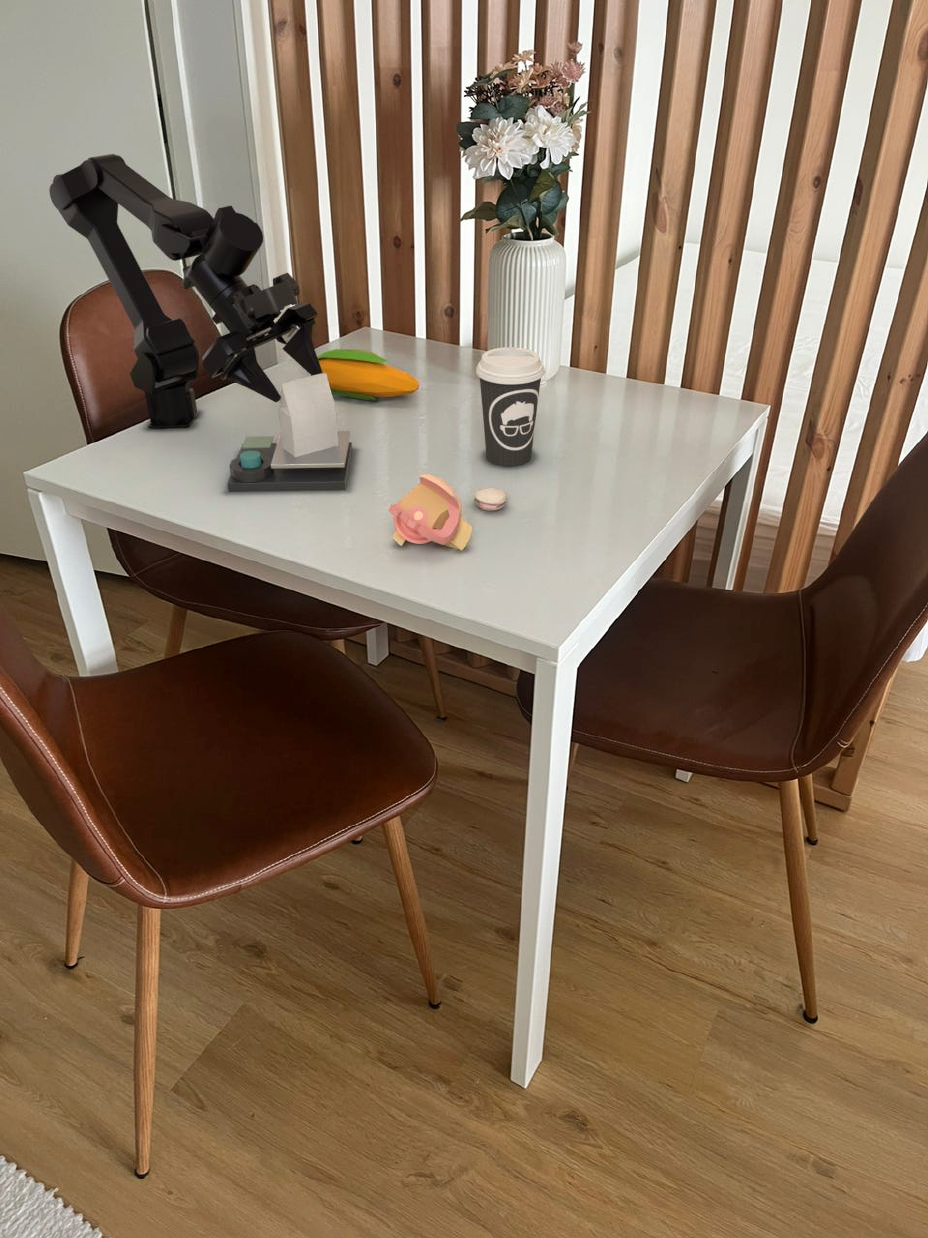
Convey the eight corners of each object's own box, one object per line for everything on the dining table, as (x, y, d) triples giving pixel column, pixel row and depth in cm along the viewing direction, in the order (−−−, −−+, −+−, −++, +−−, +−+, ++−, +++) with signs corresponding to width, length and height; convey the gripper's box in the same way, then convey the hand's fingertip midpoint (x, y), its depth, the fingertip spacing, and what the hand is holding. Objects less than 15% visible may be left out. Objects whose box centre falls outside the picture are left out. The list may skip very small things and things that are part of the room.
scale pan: (270, 468, 137) (270, 464, 136) (281, 435, 146) (280, 431, 145) (344, 467, 137) (344, 463, 136) (350, 434, 146) (350, 430, 145)
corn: (321, 336, 167) (429, 352, 160) (326, 378, 172) (432, 396, 165) (298, 353, 162) (408, 370, 155) (304, 396, 167) (412, 415, 160)
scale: (228, 492, 137) (225, 472, 136) (243, 452, 148) (241, 433, 146) (345, 490, 138) (343, 470, 136) (352, 450, 148) (350, 431, 147)
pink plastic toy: (382, 532, 129) (424, 470, 129) (446, 576, 129) (488, 514, 129) (374, 528, 120) (419, 461, 119) (443, 575, 120) (488, 509, 119)
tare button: (239, 469, 137) (238, 459, 136) (242, 460, 140) (241, 450, 139) (260, 469, 137) (258, 459, 136) (263, 460, 140) (261, 450, 139)
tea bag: (338, 445, 141) (332, 376, 136) (295, 457, 138) (287, 387, 132) (325, 436, 144) (319, 369, 138) (283, 448, 141) (275, 379, 135)
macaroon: (468, 507, 133) (468, 490, 132) (492, 494, 136) (492, 477, 135) (493, 517, 131) (494, 500, 130) (517, 503, 134) (517, 486, 133)
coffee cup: (551, 449, 148) (555, 350, 140) (526, 476, 141) (530, 373, 132) (491, 438, 151) (492, 341, 143) (465, 464, 144) (464, 363, 136)
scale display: (242, 448, 142) (241, 446, 142) (246, 437, 145) (245, 436, 145) (270, 448, 142) (270, 446, 142) (273, 437, 145) (273, 435, 145)
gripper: (205, 275, 123) (285, 378, 124) (301, 241, 136) (372, 335, 138) (169, 327, 130) (244, 424, 132) (262, 291, 144) (330, 379, 145)
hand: (300, 389), depth 137 cm, fingers open, 9 cm apart
